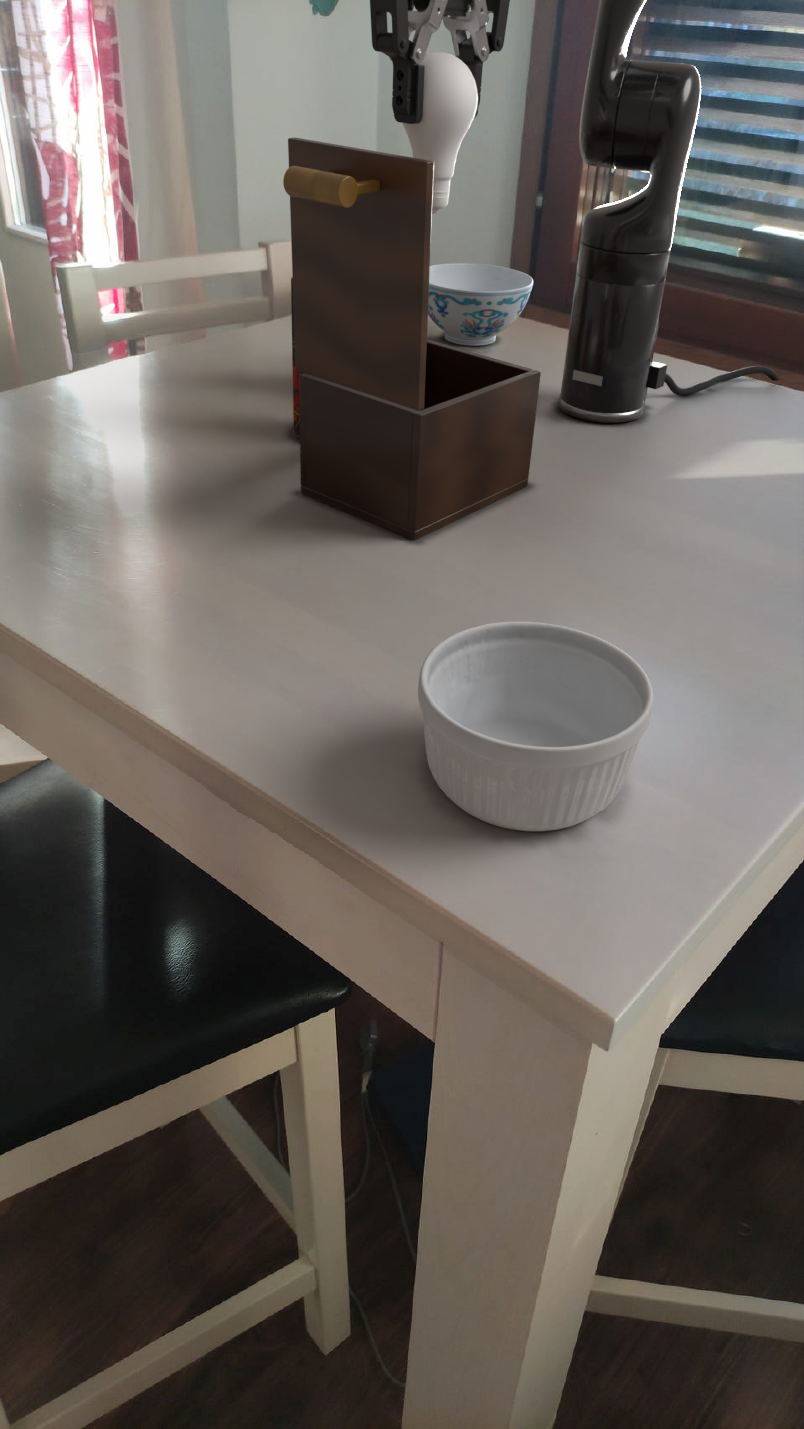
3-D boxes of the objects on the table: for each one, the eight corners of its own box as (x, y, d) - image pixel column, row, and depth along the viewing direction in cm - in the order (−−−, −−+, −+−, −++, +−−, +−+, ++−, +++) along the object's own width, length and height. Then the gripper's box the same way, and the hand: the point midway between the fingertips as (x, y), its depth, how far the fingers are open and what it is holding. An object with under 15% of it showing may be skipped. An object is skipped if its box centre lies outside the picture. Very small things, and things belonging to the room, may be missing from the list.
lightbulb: (478, 211, 86) (490, 52, 79) (457, 224, 81) (467, 57, 75) (408, 204, 87) (413, 47, 81) (382, 216, 83) (386, 51, 76)
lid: (295, 137, 79) (242, 144, 76) (434, 161, 72) (383, 169, 69) (301, 368, 90) (255, 383, 86) (424, 408, 83) (379, 426, 79)
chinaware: (404, 349, 134) (407, 285, 129) (422, 319, 146) (425, 259, 141) (522, 360, 132) (529, 295, 127) (530, 328, 144) (536, 268, 140)
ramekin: (473, 874, 56) (484, 772, 52) (378, 736, 66) (382, 641, 62) (677, 816, 61) (702, 718, 57) (561, 695, 71) (575, 605, 67)
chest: (417, 447, 106) (423, 338, 100) (527, 486, 99) (541, 371, 93) (300, 493, 96) (298, 374, 90) (414, 540, 89) (420, 415, 83)
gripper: (425, -179, 64) (413, 132, 74) (557, -155, 73) (531, 120, 83) (336, -175, 68) (335, 120, 78) (472, -152, 77) (456, 110, 87)
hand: (436, 119), depth 80 cm, fingers closed on lightbulb, 6 cm apart
